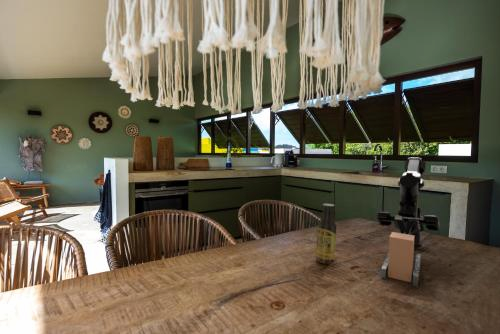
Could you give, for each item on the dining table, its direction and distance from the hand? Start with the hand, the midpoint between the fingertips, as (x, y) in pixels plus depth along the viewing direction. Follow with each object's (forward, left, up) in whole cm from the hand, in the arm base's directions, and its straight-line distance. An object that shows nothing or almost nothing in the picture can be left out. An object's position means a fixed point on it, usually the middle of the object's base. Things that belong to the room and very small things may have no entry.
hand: (404, 242), depth 93 cm
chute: (+5, -6, -8) cm, 11 cm away
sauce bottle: (-9, -24, -8) cm, 27 cm away
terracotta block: (+9, -10, -7) cm, 15 cm away
